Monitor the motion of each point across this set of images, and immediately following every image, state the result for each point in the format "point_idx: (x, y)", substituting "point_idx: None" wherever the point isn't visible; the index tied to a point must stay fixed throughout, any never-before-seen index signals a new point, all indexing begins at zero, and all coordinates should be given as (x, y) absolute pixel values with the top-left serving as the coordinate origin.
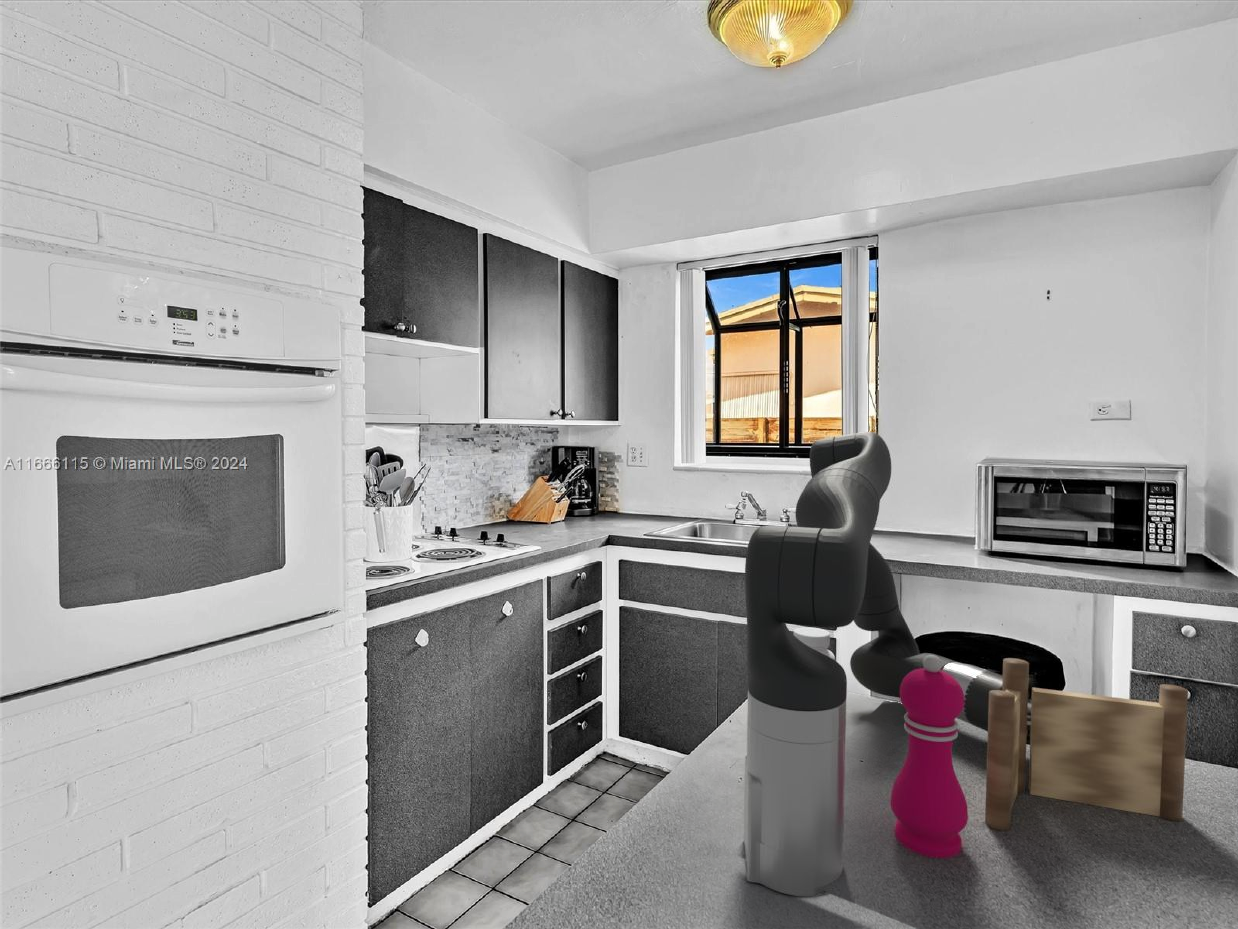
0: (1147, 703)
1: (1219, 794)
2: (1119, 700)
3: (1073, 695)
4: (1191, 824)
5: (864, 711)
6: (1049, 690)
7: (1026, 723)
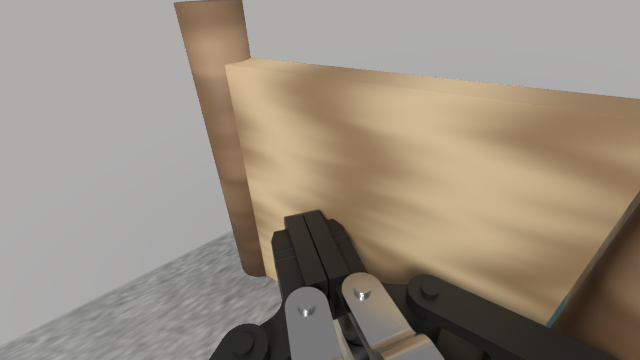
0: (263, 63)
1: (20, 347)
2: (327, 69)
3: (470, 82)
4: (225, 268)
5: None
6: (573, 102)
7: (610, 243)
